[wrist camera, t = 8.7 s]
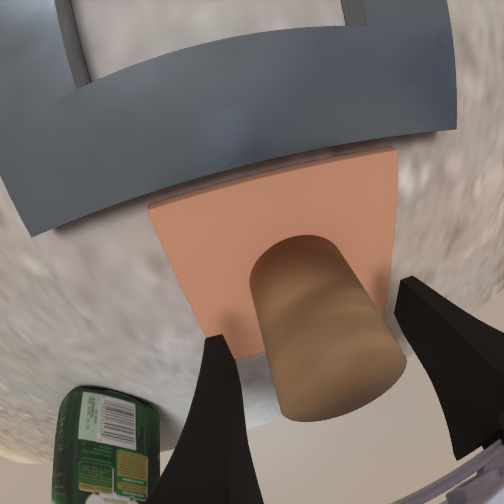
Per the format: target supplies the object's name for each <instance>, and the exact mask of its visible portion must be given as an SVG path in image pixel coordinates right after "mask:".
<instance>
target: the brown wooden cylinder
mask: <svg viewBox="0 0 504 504" xmlns="http://www.w3.org/2000/svg"><path fill="white" fill-rule="evenodd" d="M249 284H250V290H251V294H252V298H253V302H254V306H255V310H256V314H257V318H258V322H259V326H260V330H261V334H262V338H263V342H264V346H265V350H266V354H267V358H268V362H269V366H270V370H271V374H272V378H273V382H274V386H275V390H276V394H277V398H278V402H279V405H280V409H281V413H282V414H283V415H284V416H285V417H286V418H288V419H290V420H293V421H299V422H313V421H321V420H327V419H331V418H335V417H338V416H341V415H344V414H347V413H349V412H352V411H354V410H357V409H359V408H361V407H363V406H365V405H366V404H368V403H370V402H372V401H373V400H375V399H376V398H378V397H379V396H381V395H382V394H383V393H385V392H386V391H387V390H388V389H389V388H391V387H392V386H393V385H394V384H395V383H396V382H397V380H398V379H399V378H400V377H401V375H402V374H403V372H404V370H405V368H406V364H407V360H406V357H405V355H404V353H403V352H402V350H401V348H400V346H399V345H398V343H397V341H396V339H395V338H394V336H393V334H392V333H391V331H390V329H389V328H388V326H387V324H386V323H385V321H384V319H383V318H382V316H381V314H380V313H379V311H378V309H377V308H376V306H375V305H374V303H373V301H372V300H371V298H370V297H369V295H368V293H367V292H366V290H365V289H364V287H363V286H362V284H361V282H360V281H359V279H358V278H357V276H356V275H355V273H354V272H353V270H352V269H351V267H350V266H349V264H348V263H347V261H346V260H345V258H344V257H343V255H342V254H341V252H340V251H339V249H338V248H337V246H336V245H335V244H334V243H332V242H331V241H330V240H328V239H326V238H323V237H320V236H316V235H298V236H293V237H290V238H287V239H284V240H282V241H280V242H278V243H276V244H274V245H273V246H271V247H270V248H269V249H267V250H266V251H265V252H264V253H263V254H262V255H261V256H260V257H259V258H258V260H257V261H256V263H255V264H254V266H253V268H252V271H251V274H250V280H249Z"/></svg>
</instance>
